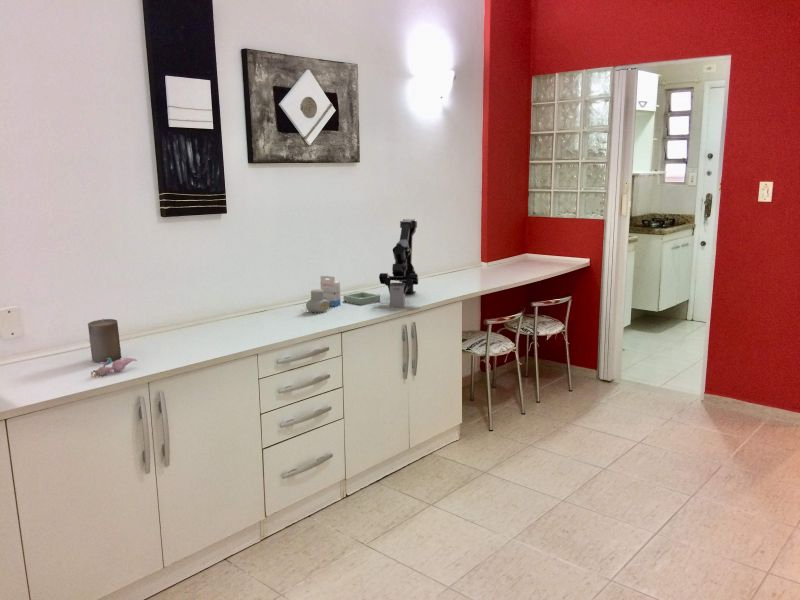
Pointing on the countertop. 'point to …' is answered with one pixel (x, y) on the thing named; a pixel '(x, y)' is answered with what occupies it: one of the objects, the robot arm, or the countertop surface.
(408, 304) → the countertop surface
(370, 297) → the tray
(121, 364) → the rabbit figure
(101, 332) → the pillar candle
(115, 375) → the countertop surface
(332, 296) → the ink box
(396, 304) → the grey rectangular block
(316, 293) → the beige rounded blocky piece
